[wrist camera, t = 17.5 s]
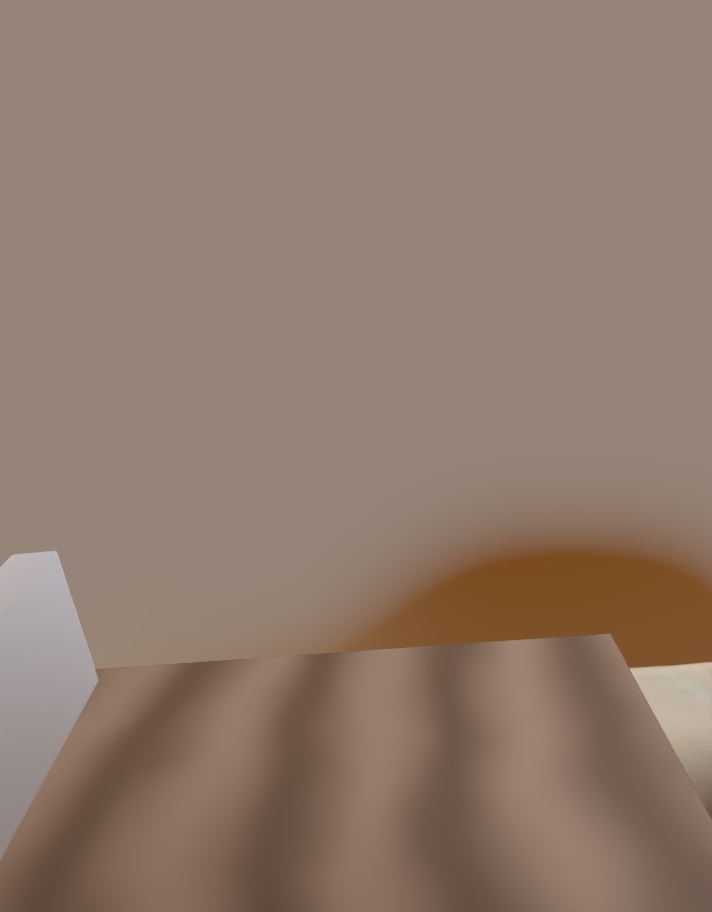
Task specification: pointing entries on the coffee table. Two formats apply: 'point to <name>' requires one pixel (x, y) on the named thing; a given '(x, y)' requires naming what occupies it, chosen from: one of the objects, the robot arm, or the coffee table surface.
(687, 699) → the coffee table surface
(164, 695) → the wooden stool
